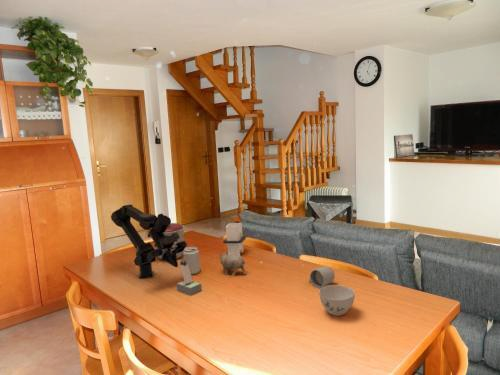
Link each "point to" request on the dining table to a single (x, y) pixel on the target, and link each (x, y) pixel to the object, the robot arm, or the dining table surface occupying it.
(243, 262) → the rhinoceros figurine
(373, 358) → the dining table surface
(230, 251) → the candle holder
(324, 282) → the ceramic mug
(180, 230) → the canister
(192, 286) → the switch box
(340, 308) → the teacup
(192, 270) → the can
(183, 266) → the toggle lever
